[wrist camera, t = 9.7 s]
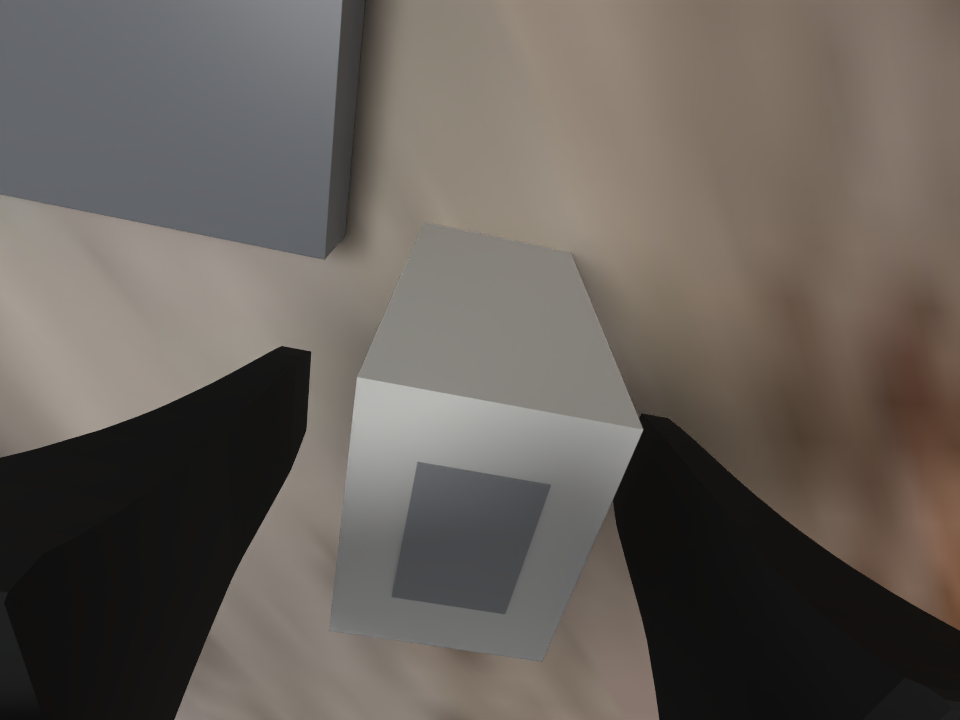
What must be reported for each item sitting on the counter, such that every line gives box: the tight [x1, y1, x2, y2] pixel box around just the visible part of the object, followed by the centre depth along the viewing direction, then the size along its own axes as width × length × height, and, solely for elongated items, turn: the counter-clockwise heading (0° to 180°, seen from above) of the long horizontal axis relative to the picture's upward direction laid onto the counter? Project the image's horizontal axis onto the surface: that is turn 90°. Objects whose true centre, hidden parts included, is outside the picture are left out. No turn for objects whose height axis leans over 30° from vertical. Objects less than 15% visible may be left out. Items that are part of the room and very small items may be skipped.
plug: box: [329, 222, 643, 662], centre depth 12 cm, size 4×6×8 cm
